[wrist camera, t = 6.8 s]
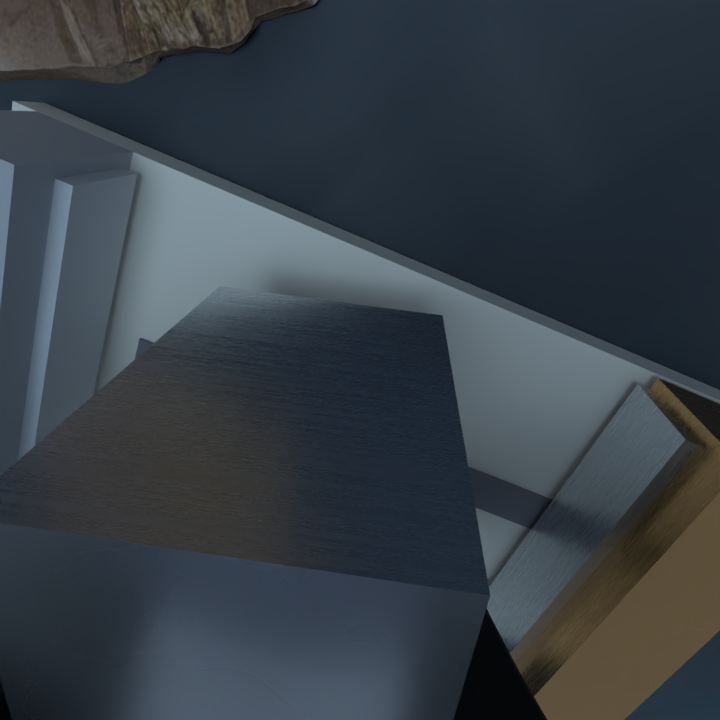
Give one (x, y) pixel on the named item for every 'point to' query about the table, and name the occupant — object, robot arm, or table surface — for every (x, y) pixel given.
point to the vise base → (272, 275)
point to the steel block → (249, 527)
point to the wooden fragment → (121, 34)
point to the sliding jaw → (620, 562)
